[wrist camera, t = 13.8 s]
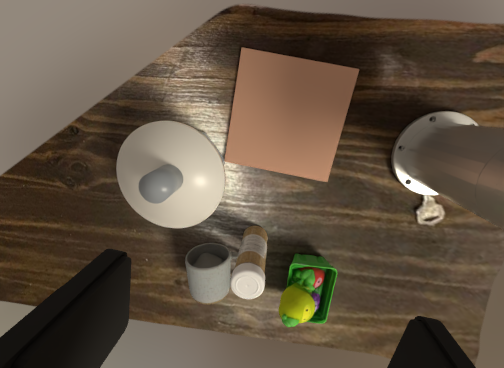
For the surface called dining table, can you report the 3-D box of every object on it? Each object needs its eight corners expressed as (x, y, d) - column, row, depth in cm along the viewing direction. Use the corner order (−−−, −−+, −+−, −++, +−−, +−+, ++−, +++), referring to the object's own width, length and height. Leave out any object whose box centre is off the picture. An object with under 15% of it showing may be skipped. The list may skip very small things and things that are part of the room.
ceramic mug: (196, 278, 50) (183, 308, 43) (192, 241, 48) (178, 266, 40) (250, 280, 49) (247, 311, 42) (249, 242, 47) (245, 268, 40)
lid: (233, 132, 35) (225, 137, 30) (217, 235, 40) (207, 256, 34) (120, 110, 36) (91, 111, 30) (118, 214, 40) (93, 231, 35)
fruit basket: (321, 303, 49) (333, 358, 38) (275, 296, 50) (274, 349, 39) (332, 251, 46) (348, 296, 35) (282, 245, 46) (283, 287, 35)
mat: (358, 69, 37) (359, 69, 36) (326, 181, 42) (327, 182, 41) (242, 48, 37) (241, 47, 37) (224, 160, 42) (224, 161, 42)
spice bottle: (258, 251, 47) (252, 306, 34) (238, 238, 47) (223, 288, 34) (273, 233, 46) (271, 283, 33) (251, 219, 45) (241, 264, 32)
